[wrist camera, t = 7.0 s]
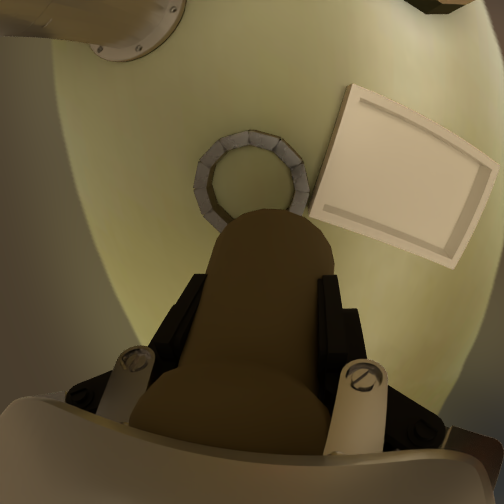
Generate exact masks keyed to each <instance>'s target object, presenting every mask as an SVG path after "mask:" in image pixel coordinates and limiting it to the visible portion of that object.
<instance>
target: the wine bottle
mask: <svg viewBox="0 0 504 504" xmlns="http://www.w3.org/2000/svg"><path fill="white" fill-rule="evenodd" d="M404 1H406V2H408V3H409V4H411V5H413V6H414V7H416V8H417V9H419V10H420V11H422V12H423V13H425V14H449V13H451V12H453V11H455V10H456V9H458V8H460V7H462V6H464V5H466V4H468V3H470V2H472V1H474V0H404Z"/></svg>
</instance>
